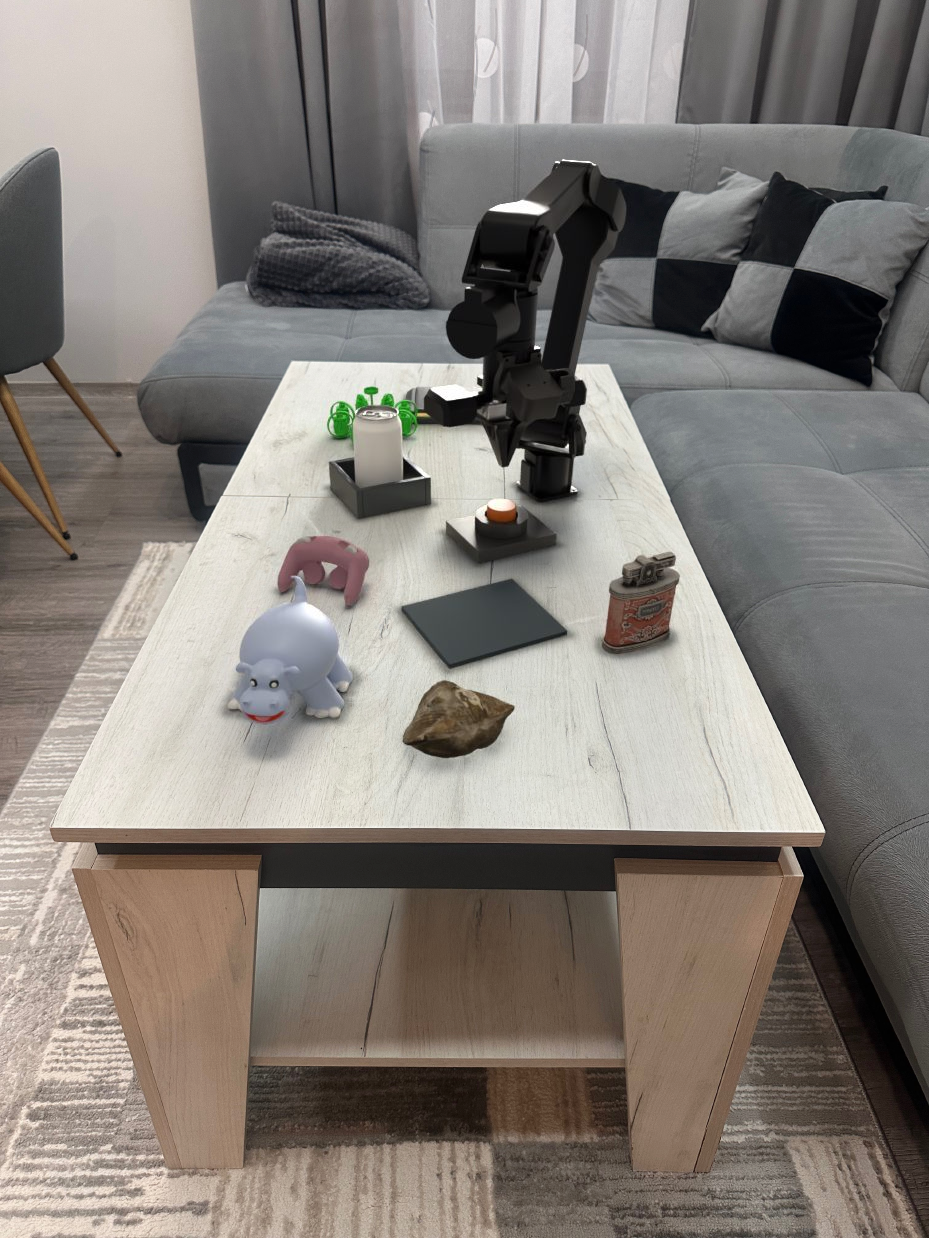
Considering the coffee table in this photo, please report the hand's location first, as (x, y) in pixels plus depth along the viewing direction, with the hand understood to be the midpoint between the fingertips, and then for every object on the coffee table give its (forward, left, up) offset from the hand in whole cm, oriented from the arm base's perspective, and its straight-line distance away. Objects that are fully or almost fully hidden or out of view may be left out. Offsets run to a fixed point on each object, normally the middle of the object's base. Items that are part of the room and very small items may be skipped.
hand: (503, 466), depth 106 cm
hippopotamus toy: (+34, +20, -10) cm, 41 cm away
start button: (0, 0, -7) cm, 7 cm away
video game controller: (+24, +2, -10) cm, 26 cm away
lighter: (-2, +26, -10) cm, 28 cm away
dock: (+9, -18, -10) cm, 22 cm away
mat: (+11, +16, -10) cm, 22 cm away
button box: (0, 0, -10) cm, 10 cm away
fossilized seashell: (+22, +32, -10) cm, 40 cm away
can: (+9, -18, -10) cm, 23 cm away
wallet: (-17, -44, -10) cm, 48 cm away
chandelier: (+1, -40, -10) cm, 41 cm away
